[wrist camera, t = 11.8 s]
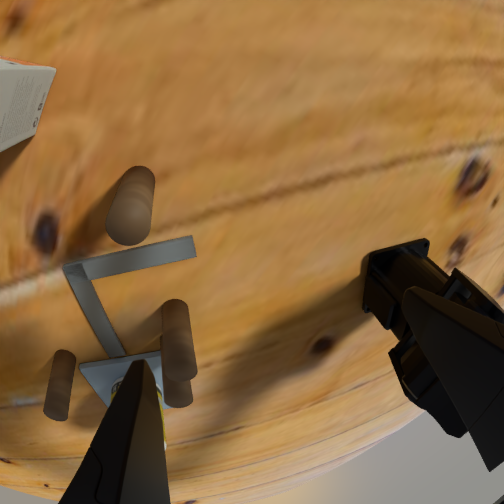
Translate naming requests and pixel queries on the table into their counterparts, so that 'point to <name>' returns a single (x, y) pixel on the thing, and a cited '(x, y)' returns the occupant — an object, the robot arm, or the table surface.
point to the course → (125, 233)
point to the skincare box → (21, 99)
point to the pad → (119, 373)
